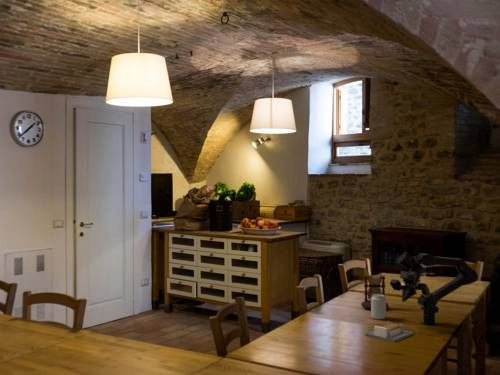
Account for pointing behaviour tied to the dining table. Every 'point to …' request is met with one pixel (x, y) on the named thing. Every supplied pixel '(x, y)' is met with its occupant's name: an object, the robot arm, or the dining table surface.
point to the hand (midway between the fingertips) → (403, 301)
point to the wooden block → (391, 326)
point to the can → (378, 306)
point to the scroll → (373, 288)
